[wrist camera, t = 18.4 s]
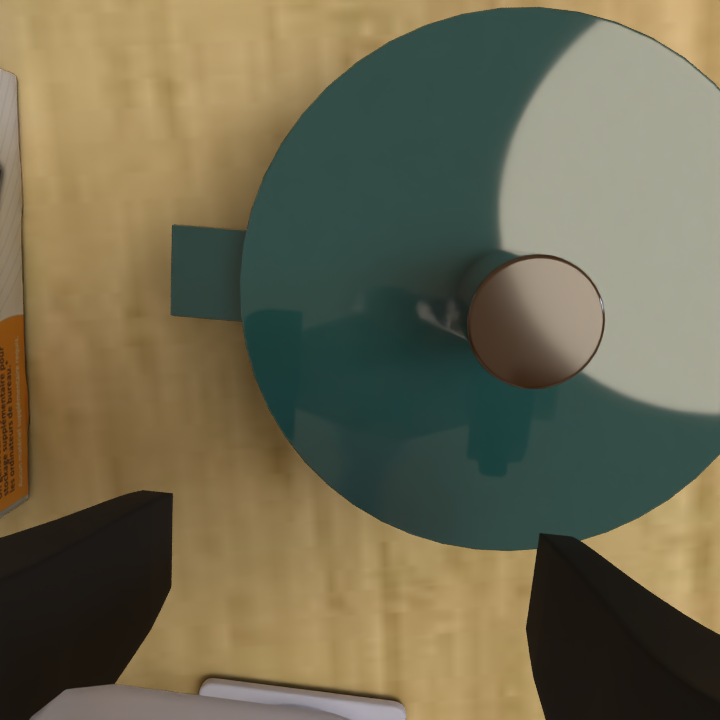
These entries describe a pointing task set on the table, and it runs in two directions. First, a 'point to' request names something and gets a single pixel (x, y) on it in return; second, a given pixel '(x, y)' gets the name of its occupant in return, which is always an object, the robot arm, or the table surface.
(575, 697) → the robot arm
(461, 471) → the lid
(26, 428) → the hard drive box
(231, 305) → the pot
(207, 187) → the table surface
